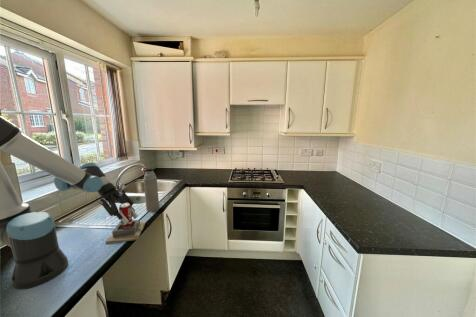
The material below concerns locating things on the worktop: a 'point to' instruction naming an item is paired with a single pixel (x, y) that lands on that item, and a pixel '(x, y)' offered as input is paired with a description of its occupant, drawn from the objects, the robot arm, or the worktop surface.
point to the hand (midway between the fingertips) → (131, 220)
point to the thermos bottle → (151, 190)
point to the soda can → (126, 214)
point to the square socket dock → (126, 232)
